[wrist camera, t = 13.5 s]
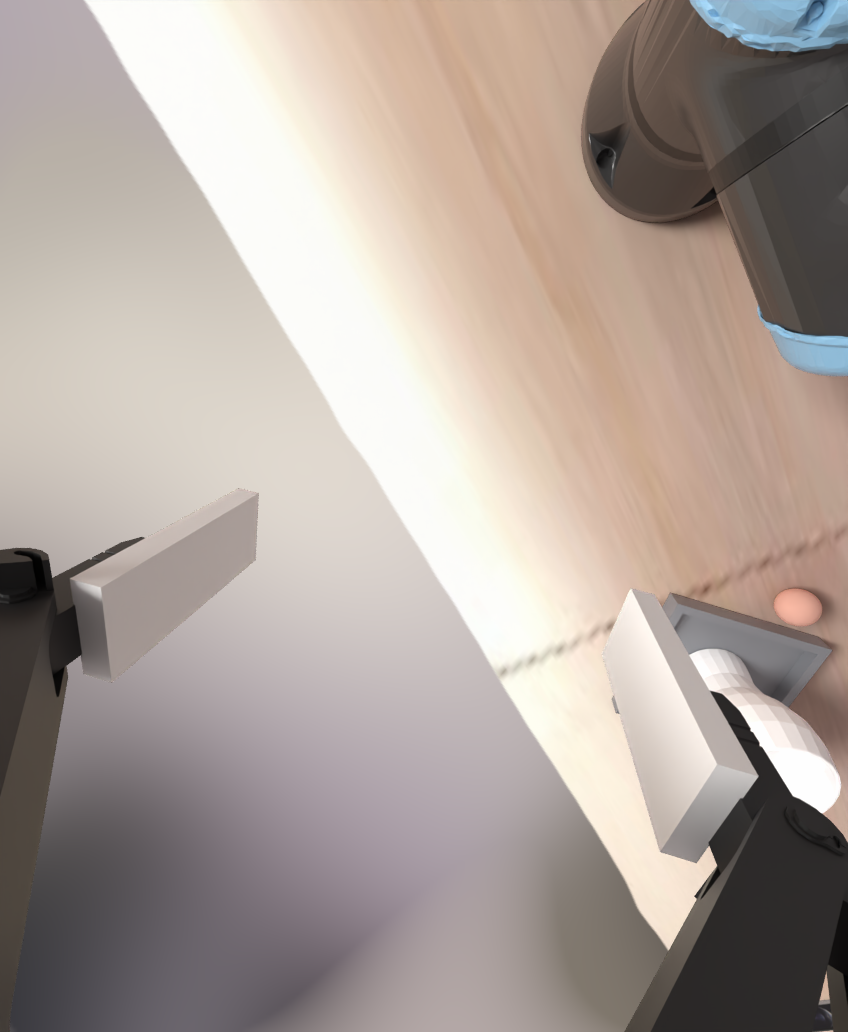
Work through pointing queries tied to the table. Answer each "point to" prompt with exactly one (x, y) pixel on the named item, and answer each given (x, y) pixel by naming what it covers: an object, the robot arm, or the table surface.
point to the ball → (797, 607)
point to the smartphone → (823, 1017)
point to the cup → (774, 729)
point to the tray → (749, 645)
